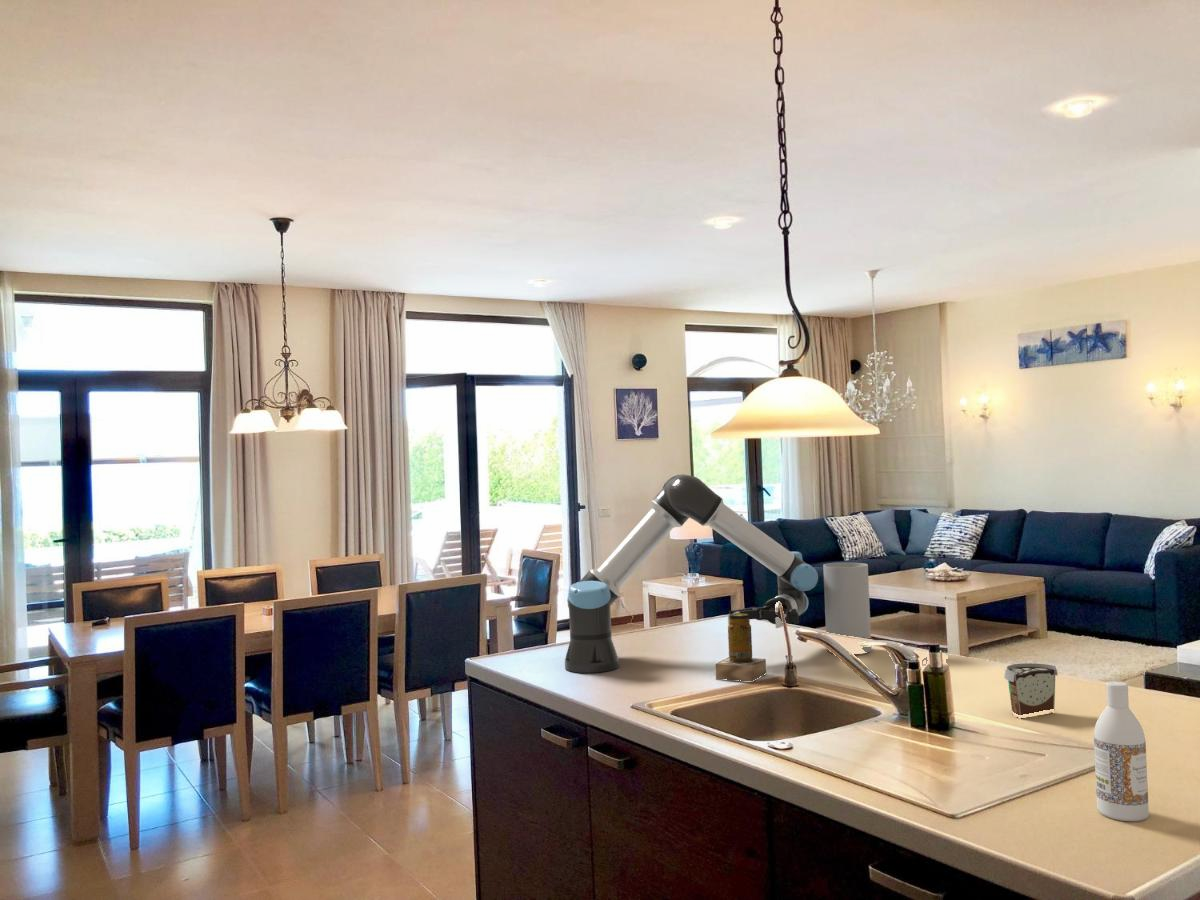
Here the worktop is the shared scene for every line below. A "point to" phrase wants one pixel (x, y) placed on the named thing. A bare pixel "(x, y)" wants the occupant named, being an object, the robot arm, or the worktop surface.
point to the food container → (1031, 687)
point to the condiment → (740, 639)
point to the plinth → (740, 670)
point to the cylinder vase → (847, 600)
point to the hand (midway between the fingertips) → (752, 621)
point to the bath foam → (1120, 759)
